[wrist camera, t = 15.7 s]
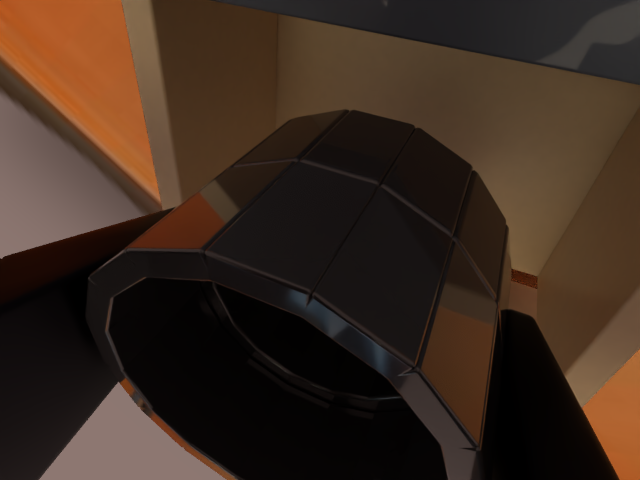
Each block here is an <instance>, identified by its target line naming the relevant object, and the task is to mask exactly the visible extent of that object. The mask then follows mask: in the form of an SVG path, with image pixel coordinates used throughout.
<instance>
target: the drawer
mask: <svg viewBox="0 0 640 480" xmlns="http://www.w3.org/2000/svg"><path fill="white" fill-rule="evenodd" d="M121 1H122V6H123V11H124V16H125V21H126V26H127V31H128V36H129V41H130V47H131V52H132V57H133V62H134V67H135V72H136V77H137V82H138V87H139V92H140V97H141V102H142V107H143V112H144V117H145V122H146V128H147V133H148V138H149V143H150V148H151V153H152V158H153V163H154V168H155V173H156V178H157V183H158V188H159V193H160V198H161V203H162V209H163V210H166V209H170V208H173V207H177V206H178V205H179V204H181V203H182V202H183V201H185V200H186V199H187V198H188V197H190V196H191V195H192V194H194V193H195V192H196V191H197V190H199V189H200V188H201V187H203V186H204V185H205V184H206V183H208V182H209V181H210V180H211V179H213V178H214V177H215V176H217V175H218V174H219V173H220V172H222V171H223V170H224V169H226V168H227V167H228V166H229V165H231V164H232V163H233V162H235V161H236V160H237V159H238V158H240V157H241V156H242V155H244V154H245V153H246V152H247V151H249V150H250V149H251V148H253V147H254V146H255V145H256V144H258V143H259V142H260V141H262V140H263V139H264V138H266V137H267V136H268V135H270V134H271V133H272V132H274V131H275V130H276V129H277V128H279V127H280V126H281V125H283V124H284V123H285V122H287V121H288V120H289V119H293V118H296V117H301V116H307V115H313V114H319V113H325V112H331V111H337V110H343V109H347V110H349V111H350V110H358V111H362V112H366V113H370V114H373V115H377V116H381V117H385V118H389V119H393V120H397V121H401V122H405V123H409V124H413V125H414V126H415V128H417V127H419V128H421V129H423V130H424V131H425V132H427V133H428V134H429V135H431V136H432V137H434V138H435V139H436V140H438V141H439V142H441V143H442V144H443V145H445V146H446V147H447V148H449V149H450V150H452V151H453V152H454V153H456V154H457V155H459V156H460V157H461V158H463V159H464V160H465V161H467V162H468V163H470V164H471V165H472V167H473V170H475V171H476V172H477V173H478V174H479V175H480V177H481V179H482V180H483V182H484V184H485V185H486V187H487V189H488V190H489V192H490V194H491V195H492V197H493V199H494V200H495V202H496V204H497V205H498V207H499V209H500V210H501V212H502V214H503V215H504V217H505V219H506V224H507V226H508V227H509V236H510V254H511V268H512V269H515V270H518V271H521V272H524V273H527V274H530V275H534V276H537V277H538V278H537V289H535V288H532V287H529V286H526V285H523V284H520V283H517V282H514V281H511V285H510V296H509V306H508V309H513V310H516V311H519V312H522V313H525V314H528V315H530V316H532V317H533V318H534V319H535V321H536V323H537V325H538V326H539V328H540V330H541V332H542V334H543V336H544V338H545V340H546V342H547V343H548V345H549V347H550V349H551V351H552V353H553V355H554V357H555V359H556V360H557V362H558V364H559V366H560V368H561V370H562V372H563V374H564V376H565V377H566V379H567V381H568V383H569V385H570V387H571V389H572V391H573V393H574V394H575V396H576V398H577V400H578V402H579V404H580V406H581V408H582V407H583V406H584V405H585V404H586V403H587V402H588V401H589V400H590V399H591V398H592V397H593V396H594V395H595V394H596V393H597V392H598V391H599V390H600V389H601V388H602V387H603V386H604V385H605V383H606V382H607V381H608V380H609V379H610V378H611V377H612V376H613V375H614V374H615V373H616V372H617V371H618V370H619V369H620V368H621V367H622V366H623V365H624V364H625V363H626V362H627V361H628V360H629V359H630V358H631V357H632V356H633V355H634V354H635V353H636V352H637V351H638V350H639V349H640V85H636V84H631V83H626V82H621V81H616V80H611V79H606V78H601V77H596V76H591V75H586V74H581V73H576V72H570V71H565V70H560V69H555V68H550V67H545V66H540V65H535V64H530V63H525V62H520V61H515V60H510V59H504V58H499V57H494V56H489V55H484V54H479V53H474V52H469V51H464V50H459V49H454V48H449V47H444V46H438V45H433V44H428V43H423V42H418V41H413V40H408V39H403V38H398V37H393V36H388V35H383V34H378V33H372V32H367V31H362V30H357V29H352V28H347V27H342V26H337V25H332V24H327V23H322V22H317V21H312V20H306V19H301V18H296V17H291V16H286V15H281V14H276V13H271V12H266V11H261V10H256V9H251V8H246V7H240V6H235V5H230V4H225V3H220V2H215V1H210V0H121Z"/></svg>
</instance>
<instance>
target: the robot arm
mask: <svg viewBox="0 0 640 480" xmlns="http://www.w3.org/2000/svg"><path fill="white" fill-rule="evenodd" d="M174 208H176V207H173V208H170V209H166V210H163V211H159V212H156V213H153V214H149V215H146V216H142V217H139V218H136V219H132V220H128V221H126V222H122V223H118V224H115V225H111V226H108V227H104V228H101V229H98V230H94V231H90V232H87V233H84V234H80V235H77V236H73V237H70V238H66V239H63V240H59V241H56V242H53V243H49V244H46V245H42V246H39V247H35V248H32V249H29V250H25V251H22V252H18V253H15V254H11V255H8V256H5V257H3V258H2V259H0V480H39V479H40V478H41V476H42V475H43V474H44V473H45V471H46V470H47V469H48V468H49V466H50V465H51V464H52V463H53V462H54V460H55V459H56V458H57V456H58V455H59V454H60V453H61V452H62V450H63V449H64V448H65V447H66V445H67V444H68V443H69V442H70V441H71V439H72V438H73V437H74V436H75V434H76V433H77V432H78V431H79V430H80V428H81V427H82V426H83V424H84V423H85V422H86V421H87V420H88V418H89V417H90V416H91V415H92V414H93V412H94V411H95V410H96V409H97V407H98V406H99V405H100V404H101V402H102V401H103V400H104V399H105V398H106V396H107V395H108V394H109V393H110V391H111V390H112V389H113V388H114V386H115V385H116V384H117V383H118V382H119V381H118V380H117V379H116V378H115V376H114V375H113V374H112V372H111V371H110V370H109V369H108V367H107V366H106V364H105V363H104V361H103V359H102V356H101V354H100V352H99V350H98V347H97V345H96V343H95V340H94V338H93V336H92V334H91V331H90V329H89V327H88V324H87V322H86V318H85V310H86V296H87V283H88V278H89V276H90V274H91V273H92V272H93V271H95V270H96V269H97V268H99V267H100V266H101V265H102V264H104V263H105V262H106V261H108V260H109V259H110V258H111V257H113V256H114V255H115V254H116V253H118V252H119V251H120V250H122V249H123V248H124V247H125V246H127V245H128V244H129V243H131V242H132V241H133V240H134V239H136V238H137V237H138V236H140V235H141V234H142V233H143V232H145V231H146V230H147V229H149V228H150V227H151V226H152V225H154V224H155V223H156V222H158V221H159V220H160V219H161V218H163V217H164V216H165V215H167V214H168V213H169V212H170V211H172V210H173V209H174ZM492 480H619V478H618V476H617V474H616V472H615V470H614V468H613V466H612V464H611V463H610V461H609V459H608V457H607V455H606V453H605V451H604V449H603V447H602V446H601V444H600V442H599V440H598V438H597V436H596V434H595V432H594V430H593V429H592V427H591V425H590V423H589V421H588V419H587V417H586V415H585V413H584V411H583V410H582V408H581V406H580V404H579V402H578V400H577V398H576V396H575V394H574V393H573V391H572V389H571V387H570V385H569V383H568V381H567V379H566V377H565V376H564V374H563V372H562V370H561V368H560V366H559V364H558V362H557V360H556V359H555V357H554V355H553V353H552V351H551V349H550V347H549V345H548V343H547V342H546V340H545V338H544V336H543V334H542V332H541V330H540V328H539V326H538V325H537V323H536V321H535V319H534V318H533V317H532V316H530V315H528V314H525V313H522V312H519V311H516V310H513V309H508V316H507V326H506V336H505V347H504V355H503V370H502V380H501V390H500V400H499V411H498V421H497V431H496V441H495V452H494V462H493V472H492Z"/></svg>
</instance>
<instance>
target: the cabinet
mask: <svg viewBox="0 0 640 480" xmlns="http://www.w3.org/2000/svg"><path fill="white" fill-rule="evenodd" d="M210 1H215V2H220V3H225V4H230V5H235V6H240V7H246V8H251V9H256V10H261V11H266V12H271V13H276V14H281V15H286V16H291V17H296V18H301V19H306V20H312V21H317V22H322V23H327V24H332V25H337V26H342V27H347V28H352V29H357V30H362V31H367V32H372V33H378V34H383V35H388V36H393V37H398V38H403V39H408V40H413V41H418V42H423V43H428V44H433V45H438V46H444V47H449V48H454V49H459V50H464V51H469V52H474V53H479V54H484V55H489V56H494V57H499V58H504V59H510V60H515V61H520V62H525V63H530V64H535V65H540V66H545V67H550V68H555V69H560V70H565V71H570V72H576V73H581V74H586V75H591V76H596V77H601V78H606V79H611V80H616V81H621V82H626V83H631V84H636V85H640V0H210Z"/></svg>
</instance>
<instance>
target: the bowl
mask: <svg viewBox="0 0 640 480" xmlns="http://www.w3.org/2000/svg"><path fill="white" fill-rule="evenodd" d="M511 275H512V272H511V254H510V236H509V227H508V226H507V224H506V219H505V217H504V215H503V214H502V212H501V210H500V209H499V207H498V205H497V204H496V202H495V200H494V199H493V197H492V195H491V194H490V192H489V190H488V189H487V187H486V185H485V184H484V182H483V180H482V179H481V177H480V175H479V174H478V173H477V172H476V171H475V170H473V167H472V165H471V164H470V163H468V162H467V161H465V160H464V159H463V158H461V157H460V156H459V155H457V154H456V153H454V152H453V151H452V150H450V149H449V148H447V147H446V146H445V145H443V144H442V143H441V142H439V141H438V140H436V139H435V138H434V137H432V136H431V135H429V134H428V133H427V132H425V131H424V130H423V129H421V128H419V127H417V128H415V126H414V125H413V124H409V123H405V122H401V121H397V120H393V119H389V118H385V117H381V116H377V115H373V114H370V113H366V112H362V111H358V110H350V111H349V110H347V109H343V110H337V111H331V112H325V113H319V114H313V115H307V116H301V117H296V118H293V119H289V120H288V121H287V122H285V123H284V124H283V125H281V126H280V127H279V128H277V129H276V130H275V131H274V132H272V133H271V134H270V135H268V136H267V137H266V138H264V139H263V140H262V141H260V142H259V143H258V144H256V145H255V146H254V147H253V148H251V149H250V150H249V151H247V152H246V153H245V154H244V155H242V156H241V157H240V158H238V159H237V160H236V161H235V162H233V163H232V164H231V165H229V166H228V167H227V168H226V169H224V170H223V171H222V172H220V173H219V174H218V175H217V176H215V177H214V178H213V179H211V180H210V181H209V182H208V183H206V184H205V185H204V186H203V187H201V188H200V189H199V190H197V191H196V192H195V193H194V194H192V195H191V196H190V197H188V198H187V199H186V200H185V201H183V202H182V203H181V204H179V205H178V206H177V207H176V208H174V209H173V210H172V211H170V212H169V213H168V214H167V215H165V216H164V217H163V218H161V219H160V220H159V221H158V222H156V223H155V224H154V225H152V226H151V227H150V228H149V229H147V230H146V231H145V232H143V233H142V234H141V235H140V236H138V237H137V238H136V239H134V240H133V241H132V242H131V243H129V244H128V245H127V246H125V247H124V248H123V249H122V250H120V251H119V252H118V253H116V254H115V255H114V256H113V257H111V258H110V259H109V260H108V261H106V262H105V263H104V264H102V265H101V266H100V267H99V268H97V269H96V270H95V271H93V272H92V273H91V274H90V276H89V278H88V283H87V296H86V310H85V318H86V322H87V324H88V327H89V329H90V331H91V334H92V336H93V338H94V340H95V343H96V345H97V347H98V350H99V352H100V354H101V356H102V359H103V361H104V363H105V364H106V366H107V367H108V369H109V370H110V371H111V372H112V374H113V375H114V376H115V378H116V379H117V380H118V381H119V383H120V384H121V385H122V387H123V388H124V389H125V390H126V392H127V393H128V394H129V395H130V397H131V398H132V399H133V400H134V402H135V403H136V404H137V406H138V407H140V409H141V410H142V411H143V412H144V413H145V414H146V415H147V416H149V417H150V418H151V419H152V420H153V421H154V422H155V423H156V424H157V425H158V426H159V427H160V428H161V429H162V430H164V431H165V432H166V433H167V434H168V435H169V436H170V437H171V438H172V439H173V440H174V441H175V442H177V443H178V444H179V445H180V446H181V447H184V449H185V450H186V451H187V452H189V453H190V454H192V455H193V456H195V457H196V458H197V459H199V460H200V461H202V462H203V463H204V464H206V465H207V466H208V467H210V468H211V469H213V470H214V471H216V472H217V473H218V474H220V475H221V476H222V477H224V478H225V479H227V480H492V472H493V462H494V452H495V441H496V431H497V421H498V411H499V400H500V390H501V380H502V370H503V355H504V347H505V336H506V326H507V316H508V306H509V296H510V285H511Z"/></svg>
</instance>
